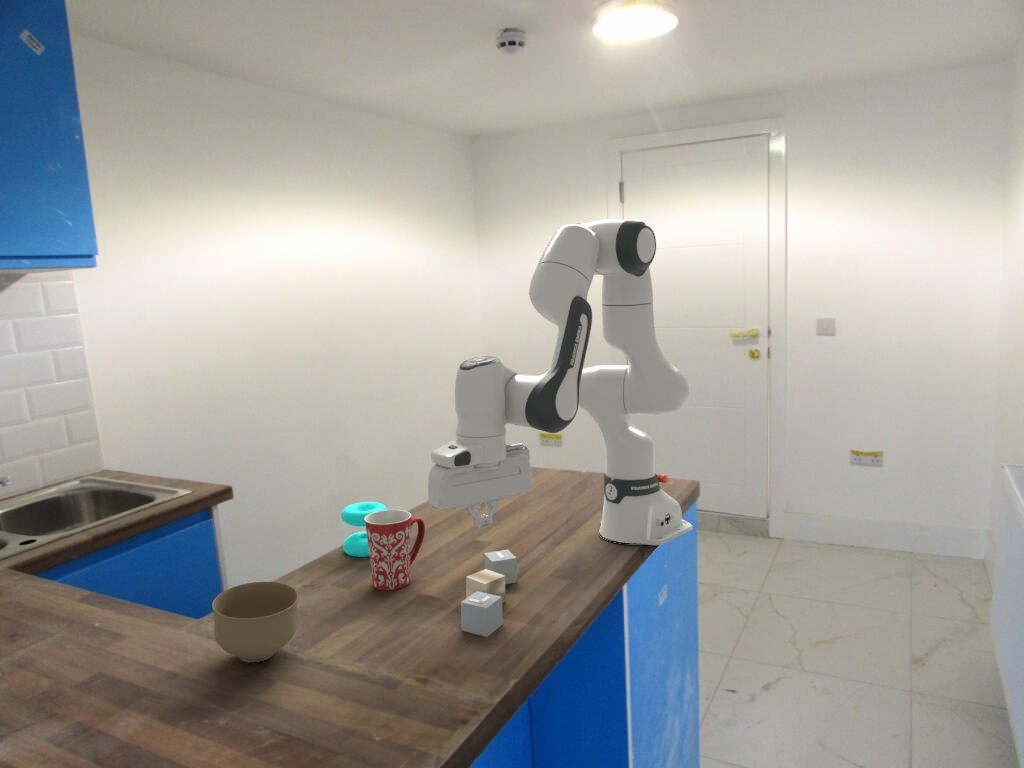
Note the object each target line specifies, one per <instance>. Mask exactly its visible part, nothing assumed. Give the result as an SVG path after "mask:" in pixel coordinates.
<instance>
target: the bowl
mask: <svg viewBox="0 0 1024 768" xmlns="http://www.w3.org/2000/svg"><path fill="white" fill-rule="evenodd" d="M299 598H300V596H299V592H298V591H297V590H296V588H294V587H293V586H291V585H288V584H286V583H282V582H276V581H254V582H247V583H243V584H239V585H235V586H232V587H230V588H228V589H226V590H223V591H222V592H221V593H219V594H217V596H215V597H214V599H213V601H212V602H211V603H212V604H211V608H212V611H213V617H214V618H213V619H214V621H213V622H214V626H213V627H214V628H213V633H214V638H215V642H216V643H217V645H218V646H220V648H222V650H223V651H225V653H228V654H229V655H231V656H234V657H236V658H238V659H240V660H241V661H242V662H245V663H249V662H257V663H261V662H260V661H262V662H264V660H265V661H266V659H267V660H269V659H270V658H272V657H273V656H274V655H275V654H276V653H277V652H278V651H280V650H281V649H282V648H283V647H285V646H286V645H288V643H289V642H290V640H291V639H292V638H293V636H294V635H295V633H296V631H297V627H298V602H299V601H298V600H299Z"/></svg>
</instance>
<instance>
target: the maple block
mask: <svg viewBox="0 0 1024 768" xmlns="http://www.w3.org/2000/svg"><path fill="white" fill-rule="evenodd" d="M465 588H466V589H465V590H466V591H465V592H466V595H465V596H466V598H468V597H469V596H471V595H472V594H474V593H475V592H477V591H478V592H482V593H487V594H492V595H496V596H501V597H502V604H504V603H506V584H505V576H504V575H501V574H499V573H496V572H493V571H490V570H488V569H482V570H480V571H477V572H475V573H472V574H469V575H467V576H465ZM466 598H465V599H466Z"/></svg>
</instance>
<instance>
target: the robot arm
mask: <svg viewBox="0 0 1024 768" xmlns="http://www.w3.org/2000/svg"><path fill="white" fill-rule="evenodd" d="M656 239H657V238H656V236H655V232H654V230H653V228H652V227H651V226H650V225H649V224H648V223H647V222H646V221H644V220H640V219H634V218H628V219H616V218H615V219H600V220H597V221H595V220H594V221H589V222H585V223H569V224H565V225H563V226H561V227H559V228H558V229H557V230H556V231H555V233H554V235H552V237H551V239H550V240H549V242H548V243H547V246H546V247H545V249H544V250H543V253H542V255H541V256H540V259H539V261H538V263H537V265H536V268H535V270H534V273H533V275H532V277H531V280H530V284H529V290H528V295H529V296H528V297H529V299H530V302H531V305H532V306H533V308H534V309H535V311H536V312H537V313H539V314H540V315H541V316H542V317H543V318H544V319H545V320H547V321H549V322H550V323H551V324H554V325H556V326H557V328H558V335H557V339H556V343H555V348H554V352H553V356H552V359H551V365H550V367H549V369H548V370H546V372H544V373H542V374H536V373H525V372H518V371H517V370H515V369H512V368H510V367H508V366H506V365H505V364H504V363H503V362H501V359H500V358H499V357H498V356H493V355H492V356H491V355H490V356H489V355H486V356H479V357H472V358H468V359H467V360H464V361H463V362H461V363H460V364H459V366H458V368H457V371H456V374H455V375H456V376H455V383H454V384H455V385H454V387H455V388H454V405H455V407H454V409H455V413H456V416H457V424H456V425H457V426H456V430H455V438H454V439H452V440H450V441H449V442H447V443H445V444H443V445H442V446H440V447H438V448H436V449H433V450H432V451H431V453H430V459H431V462H432V463H434V464H433V466H432V467H431V469H430V470H429V474H428V481H427V482H428V483H427V498H428V499H427V501H428V503H429V504H430V506H431V507H432V508H433V509H435V510H437V511H440V512H444V511H447V510H453V509H457V508H458V509H459V508H463V507H467V509H468V510H469V512H470V514H471V515H472V517H473V526H474V527H476V528H482V527H486V526H491V525H493V522H494V521H493V520H494V519H493V516H494V514H495V511H496V510H497V507H498V505H499V504H498V503H499V501H498V500H502V499H505V498H510V497H516V496H521V495H525V494H529V493H530V492H531V490H532V489H533V487H534V486H533V475H532V468H531V467H532V466H531V462H530V458H531V457H530V449H529V448H528V447H527V446H526V445H525V444H523V443H521V442H519V443H518V442H517V443H515V444H507V429H506V424H508V425H509V424H510V425H515V426H518V427H524V428H531V429H534V430H537V431H540V432H541V431H542V432H545V433H549V434H557V433H560V432H562V431H563V430H564V429H566V428H567V427H568V426H569V425H570V424H571V423H572V422H573V420H575V418H576V416H577V414H578V410H579V407H580V408H581V409H582V410H583V411H585V412H586V413H587V414H588V415H589V416H590V417H591V419H592V420H593V421H594V422H595V424H596V426H597V427H598V429H599V432H600V433H601V437H602V442H603V449H604V461H605V463H604V464H605V467H604V468H605V472H604V473H603V481H602V482H603V491H604V497H603V506H602V507H603V508H602V515H601V520H600V523H601V526H600V525H599V530H598V533H599V532H600V534H601V535H602V536H603V537H605V538H608V539H611V540H615V541H618V542H625V543H641V544H640V545H650V546H661V545H664V544H667V543H668V542H670V541H672V540H674V539H676V538H678V537H680V536H682V535H684V534H686V533H688V532H690V531H692V530H693V529H694V528H693V525H692V524H691V523H690V522H689V521H687V520H685V519H683V512H682V508H681V504H680V502H678V501H677V500H676V499H675V498H673V497H672V496H671V495H669V494H668V493H666V492H665V491H664V490H662V489H661V485H660V483H662V484H667V483H668V482H669V476H668V474H663V473H659V474H656V471H655V470H656V469H655V466H656V461H655V459H656V458H655V457H656V455H655V453H656V450H655V449H656V446H655V442H654V440H653V439H652V437H651V436H650V435H649V434H648V433H647V432H645V431H644V430H641V429H640V428H638V427H637V426H636V425H634V424H633V422H632V421H631V419H630V415H640V416H641V415H643V416H663V415H670V414H674V413H679V412H680V411H681V410H682V409H683V408H684V406H685V405H686V404H687V401H688V399H689V393H690V387H689V383H688V380H687V378H686V376H685V374H684V373H683V372H682V371H681V370H680V369H679V368H678V367H676V366H674V365H673V363H671V362H670V361H669V360H668V358H667V357H666V356H665V354H664V353H663V351H662V350H661V348H660V345H659V343H658V341H657V340H658V339H657V336H656V330H655V317H654V293H653V292H654V290H653V283H652V277H651V270H650V266H651V264H652V262H654V258H655V255H656V251H657V240H656ZM594 275H595V276H602V277H603V278H602V288H601V289H602V290H601V291H602V292H601V308H602V309H601V313H602V314H601V315H602V316H601V317H602V336H603V339H604V340H605V341H606V343H607V344H608V345H609V346H611V347H612V348H614V349H616V350H618V351H620V352H621V353H623V354H624V355H625V356H626V358H627V359H628V361H629V364H621V365H620V364H599V365H598V364H597V365H592V366H588V367H584V366H585V365H584V364H585V361H586V360H585V359H586V355H587V352H588V345H589V340H590V337H591V330H592V325H593V310H592V307H591V305H590V303H589V302H588V293H589V290H590V287H591V285H592V282H593V280H594ZM481 503H484V504H485V505H486V507H485V510H484V513H480V511H479V510H480V509H481Z"/></svg>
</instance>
